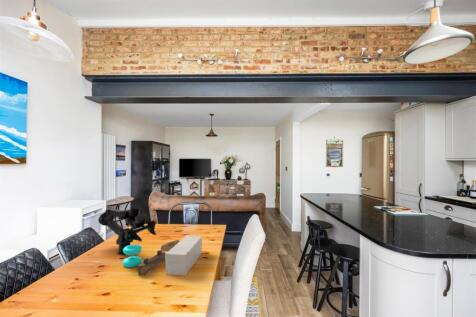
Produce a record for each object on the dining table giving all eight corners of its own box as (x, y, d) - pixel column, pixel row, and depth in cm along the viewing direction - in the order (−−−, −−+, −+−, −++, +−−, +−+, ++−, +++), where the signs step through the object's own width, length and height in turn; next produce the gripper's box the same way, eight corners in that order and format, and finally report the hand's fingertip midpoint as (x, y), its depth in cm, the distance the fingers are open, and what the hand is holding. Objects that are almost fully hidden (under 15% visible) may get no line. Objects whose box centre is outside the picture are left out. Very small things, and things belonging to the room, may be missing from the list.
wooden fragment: (168, 253, 158) (168, 251, 158) (153, 251, 161) (153, 249, 161) (186, 241, 183) (186, 239, 183) (172, 239, 186) (172, 238, 186)
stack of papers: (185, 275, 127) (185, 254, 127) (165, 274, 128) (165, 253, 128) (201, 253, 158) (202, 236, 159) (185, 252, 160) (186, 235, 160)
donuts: (141, 243, 146) (142, 248, 137) (141, 259, 146) (142, 266, 137) (123, 245, 142) (122, 250, 133) (122, 262, 142) (122, 269, 133)
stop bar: (138, 275, 126) (138, 261, 126) (160, 260, 145) (161, 248, 146) (142, 275, 125) (143, 262, 126) (165, 261, 145) (165, 249, 145)
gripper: (121, 216, 141) (135, 232, 134) (149, 208, 156) (164, 221, 148) (119, 232, 145) (133, 248, 137) (147, 222, 160) (161, 236, 152)
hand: (148, 237), depth 144 cm, fingers open, 9 cm apart
